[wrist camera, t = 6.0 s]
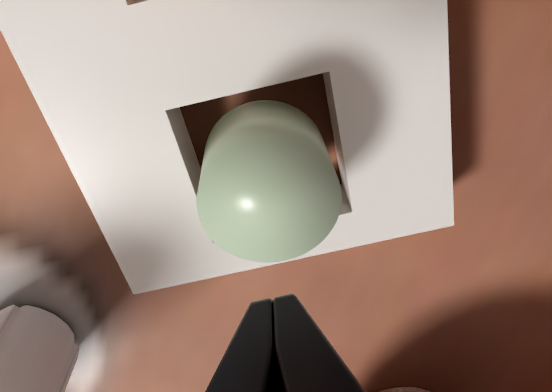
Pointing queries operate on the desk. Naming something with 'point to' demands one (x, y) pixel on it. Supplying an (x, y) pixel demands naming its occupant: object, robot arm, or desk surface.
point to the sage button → (267, 183)
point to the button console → (227, 81)
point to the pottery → (405, 389)
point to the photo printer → (35, 350)
